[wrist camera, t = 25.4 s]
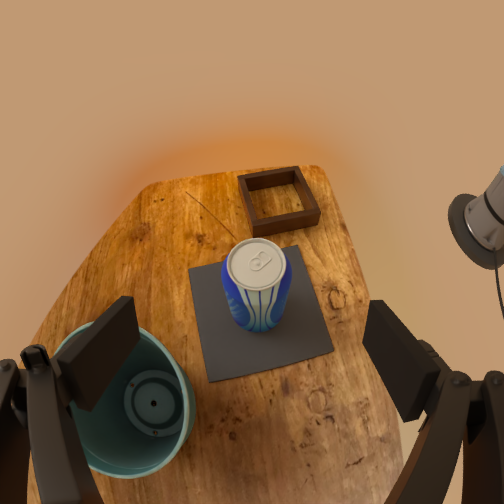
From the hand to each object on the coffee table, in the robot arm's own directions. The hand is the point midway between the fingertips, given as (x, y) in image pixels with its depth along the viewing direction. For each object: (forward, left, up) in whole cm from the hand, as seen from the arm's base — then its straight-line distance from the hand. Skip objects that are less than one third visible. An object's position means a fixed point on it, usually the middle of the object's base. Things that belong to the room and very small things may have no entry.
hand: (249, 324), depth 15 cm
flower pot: (-2, +16, -30) cm, 34 cm away
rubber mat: (+10, -3, -30) cm, 31 cm away
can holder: (+30, -12, -30) cm, 44 cm away
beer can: (+10, -3, -29) cm, 31 cm away
